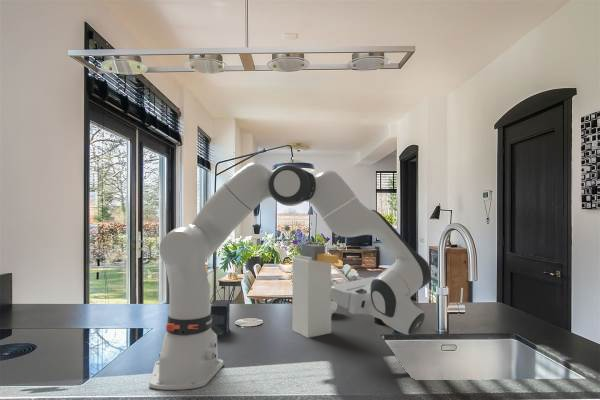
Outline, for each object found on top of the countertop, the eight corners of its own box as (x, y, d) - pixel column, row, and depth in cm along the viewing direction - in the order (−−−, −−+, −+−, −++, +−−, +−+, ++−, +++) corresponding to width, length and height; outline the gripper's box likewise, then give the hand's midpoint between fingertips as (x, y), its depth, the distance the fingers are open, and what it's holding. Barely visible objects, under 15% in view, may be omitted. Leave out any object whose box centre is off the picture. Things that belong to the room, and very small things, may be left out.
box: (226, 336, 139) (226, 305, 139) (210, 336, 139) (210, 305, 139) (229, 329, 147) (229, 300, 147) (214, 329, 146) (214, 300, 147)
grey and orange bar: (340, 262, 135) (340, 247, 135) (330, 263, 132) (330, 248, 132) (312, 257, 149) (312, 244, 149) (301, 258, 146) (302, 244, 147)
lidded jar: (313, 310, 175) (313, 289, 175) (338, 311, 173) (338, 289, 173) (310, 317, 164) (311, 294, 164) (337, 318, 162) (337, 295, 163)
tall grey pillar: (331, 333, 143) (331, 256, 144) (307, 337, 138) (307, 257, 138) (315, 326, 151) (315, 253, 152) (292, 330, 146) (292, 255, 147)
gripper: (397, 283, 126) (365, 266, 136) (351, 295, 113) (320, 275, 123) (394, 301, 127) (362, 283, 137) (348, 315, 114) (317, 294, 125)
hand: (341, 279), depth 130 cm, fingers open, 8 cm apart
